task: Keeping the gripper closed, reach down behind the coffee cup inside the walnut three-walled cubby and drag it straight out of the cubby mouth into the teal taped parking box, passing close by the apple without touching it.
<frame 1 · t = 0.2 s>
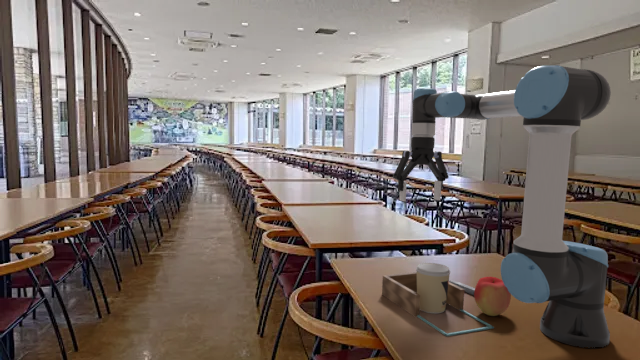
hand: (420, 200, 148), 28 cm above the table, fingers open, 13 cm apart
crook tool: (472, 294, 139), on the table
coffee cup: (431, 308, 126), on the table
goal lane: (453, 321, 117), on the table
cubby: (420, 302, 131), on the table
apple: (491, 315, 123), on the table
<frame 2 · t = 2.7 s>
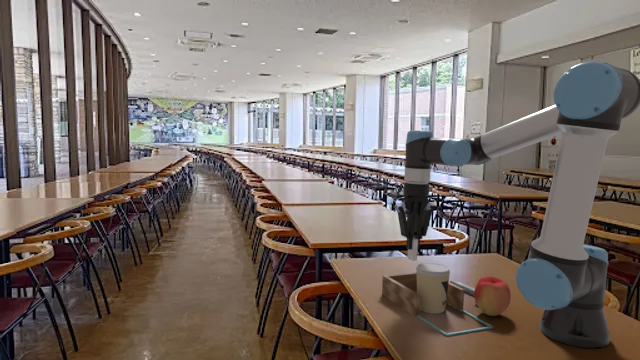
hand: (412, 259, 135), 11 cm above the table, fingers closed
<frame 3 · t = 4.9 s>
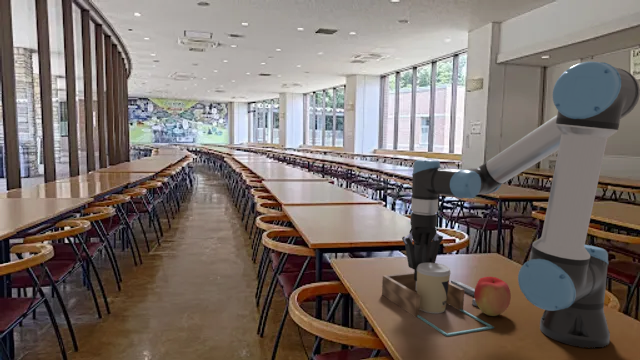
hand: (420, 291, 131), 3 cm above the table, fingers closed
coffee cup: (431, 308, 126), on the table, touching gripper
everything else where it was.
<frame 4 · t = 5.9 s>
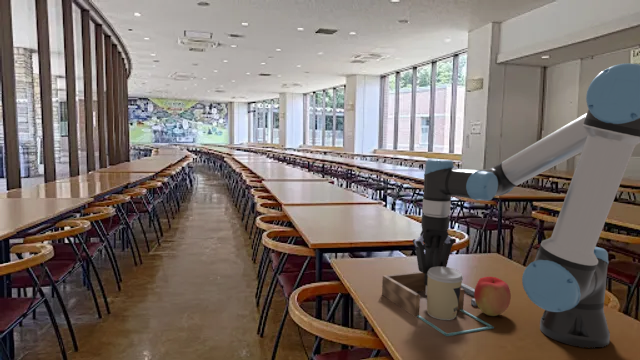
hand: (430, 295, 126), 3 cm above the table, fingers closed
coffee cup: (441, 314, 122), on the table, touching gripper
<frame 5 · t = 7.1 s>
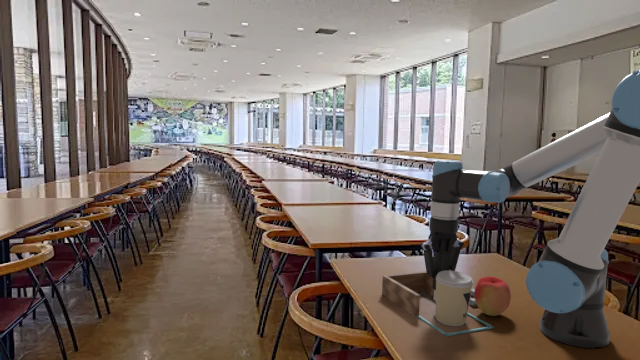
hand: (438, 300, 123), 3 cm above the table, fingers closed
coffee cup: (450, 320, 118), on the table, touching gripper
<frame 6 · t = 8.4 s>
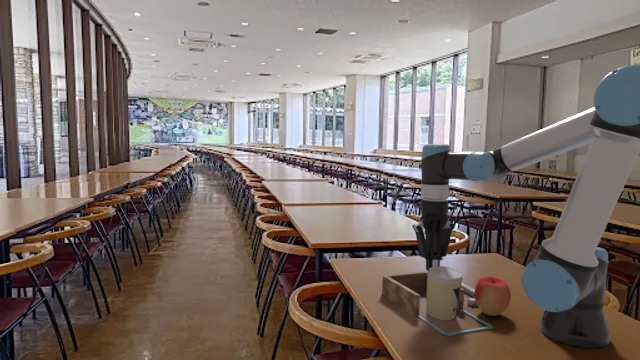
hand: (432, 281, 126), 8 cm above the table, fingers closed
coffee cup: (440, 314, 122), on the table
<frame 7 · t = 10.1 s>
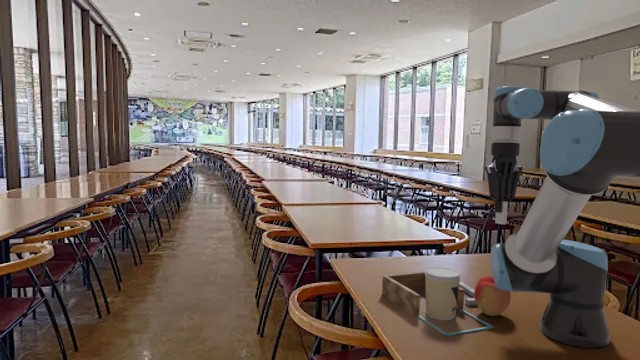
hand: (500, 223, 129), 24 cm above the table, fingers closed
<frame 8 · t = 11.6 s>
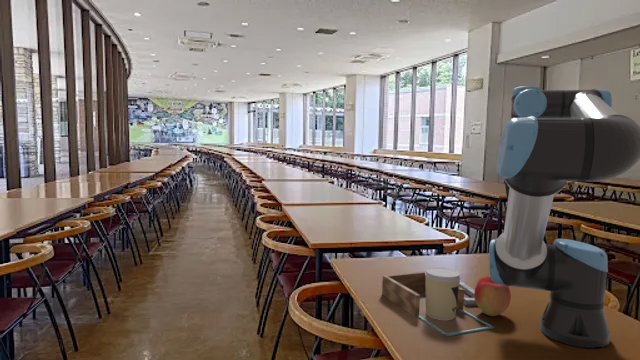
hand: (517, 222, 130), 24 cm above the table, fingers closed
at the end: coffee cup inside the target area (5.1 cm from its centre), on the table; coffee cup tilted 0°; apple moved 0.2 cm from its start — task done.
